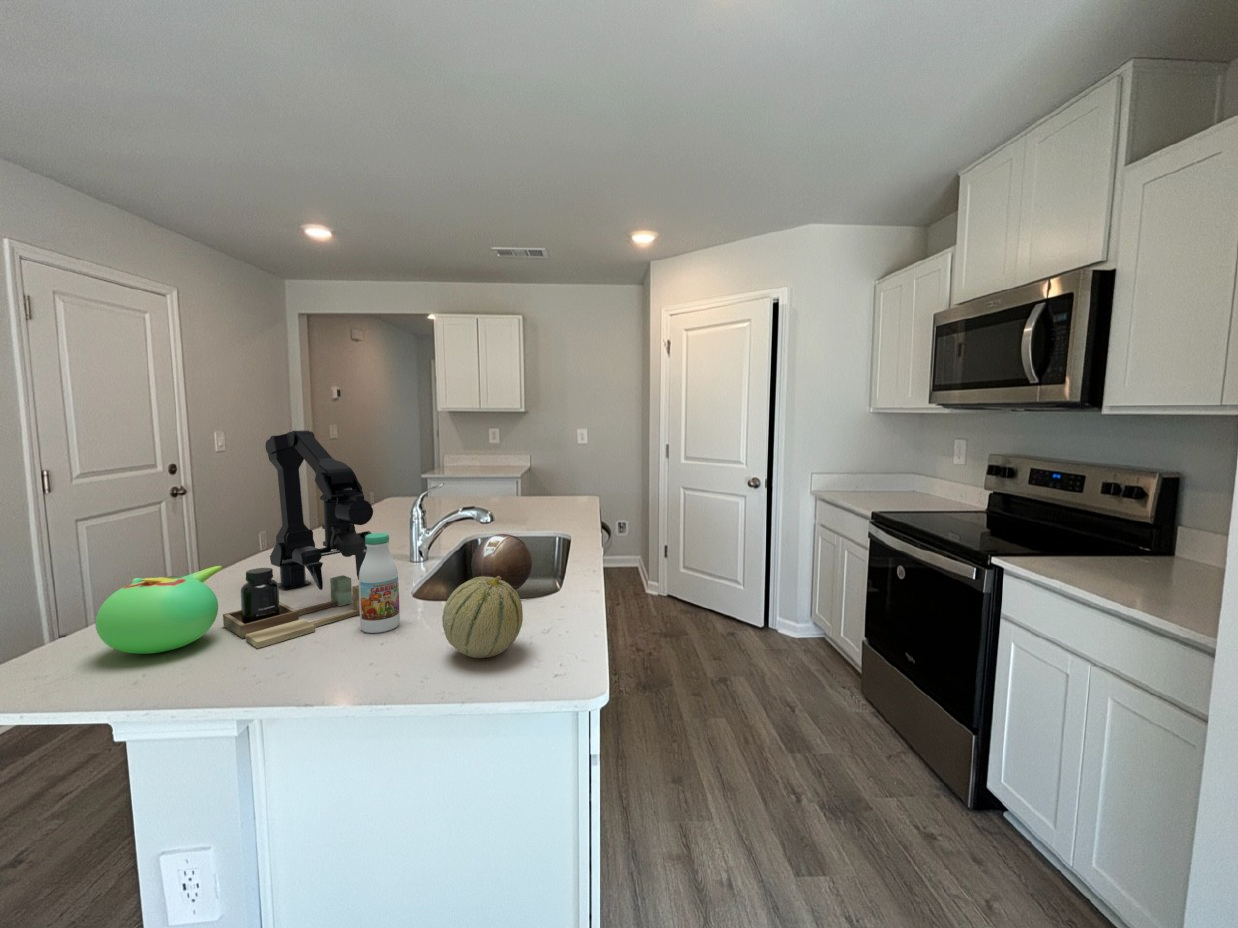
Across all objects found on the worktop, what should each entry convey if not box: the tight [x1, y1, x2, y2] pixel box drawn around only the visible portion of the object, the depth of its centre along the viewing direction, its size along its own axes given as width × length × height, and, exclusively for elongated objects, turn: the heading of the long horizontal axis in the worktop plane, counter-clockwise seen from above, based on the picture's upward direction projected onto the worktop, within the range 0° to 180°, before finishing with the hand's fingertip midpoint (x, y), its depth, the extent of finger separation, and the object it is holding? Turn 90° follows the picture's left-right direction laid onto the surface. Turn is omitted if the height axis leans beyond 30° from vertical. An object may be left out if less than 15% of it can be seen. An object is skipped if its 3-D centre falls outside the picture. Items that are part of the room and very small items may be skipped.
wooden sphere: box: [471, 533, 533, 591], centre depth 138 cm, size 15×15×15 cm
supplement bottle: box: [240, 567, 280, 624], centre depth 116 cm, size 7×7×12 cm
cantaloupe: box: [441, 576, 524, 659], centre depth 102 cm, size 15×15×15 cm
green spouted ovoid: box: [95, 565, 223, 655], centre depth 104 cm, size 18×17×15 cm
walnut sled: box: [222, 574, 353, 639], centre depth 121 cm, size 11×24×6 cm, turn 143°
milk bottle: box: [358, 532, 401, 634], centre depth 115 cm, size 8×8×20 cm
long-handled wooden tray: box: [245, 584, 360, 649], centre depth 115 cm, size 6×24×6 cm, turn 143°
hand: (340, 584), depth 130 cm, fingers open, 9 cm apart
